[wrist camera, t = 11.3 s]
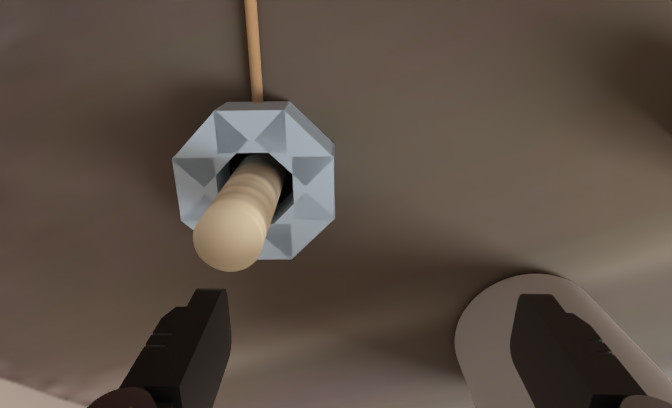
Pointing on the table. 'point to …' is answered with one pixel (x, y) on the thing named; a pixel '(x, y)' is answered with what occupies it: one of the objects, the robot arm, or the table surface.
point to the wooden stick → (254, 50)
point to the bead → (261, 137)
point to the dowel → (240, 214)
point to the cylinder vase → (495, 332)
